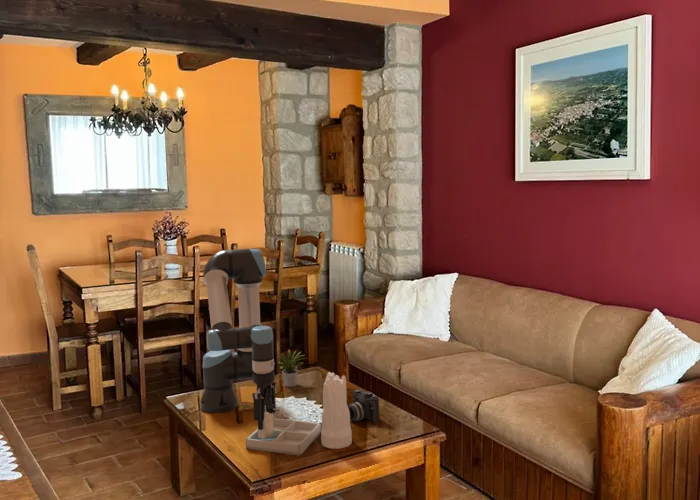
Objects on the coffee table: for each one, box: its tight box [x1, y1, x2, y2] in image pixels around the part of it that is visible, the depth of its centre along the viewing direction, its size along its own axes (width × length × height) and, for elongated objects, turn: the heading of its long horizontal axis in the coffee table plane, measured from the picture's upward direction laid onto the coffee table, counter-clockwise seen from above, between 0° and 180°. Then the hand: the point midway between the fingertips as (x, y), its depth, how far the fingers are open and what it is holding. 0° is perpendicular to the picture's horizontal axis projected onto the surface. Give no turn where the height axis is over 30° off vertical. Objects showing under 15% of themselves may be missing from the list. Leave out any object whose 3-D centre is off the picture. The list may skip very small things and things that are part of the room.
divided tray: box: [245, 417, 322, 457], centre depth 240 cm, size 20×20×4 cm
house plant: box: [276, 348, 307, 388], centre depth 298 cm, size 14×14×16 cm
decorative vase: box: [320, 371, 353, 450], centre depth 236 cm, size 11×11×25 cm
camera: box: [347, 388, 380, 423], centre depth 259 cm, size 14×11×10 cm
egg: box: [258, 411, 274, 439], centre depth 236 cm, size 6×6×9 cm
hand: (265, 433), depth 237 cm, fingers closed on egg, 5 cm apart
